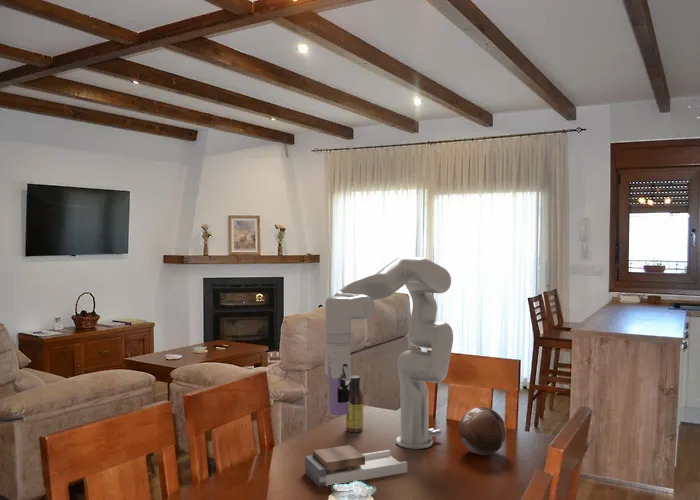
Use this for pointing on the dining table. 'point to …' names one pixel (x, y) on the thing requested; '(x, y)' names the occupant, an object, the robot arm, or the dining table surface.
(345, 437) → the dining table surface
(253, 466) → the dining table surface
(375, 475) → the track
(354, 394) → the sauce bottle
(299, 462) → the dining table surface
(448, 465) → the dining table surface
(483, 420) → the wooden sphere
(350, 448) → the slab
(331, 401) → the beverage can
